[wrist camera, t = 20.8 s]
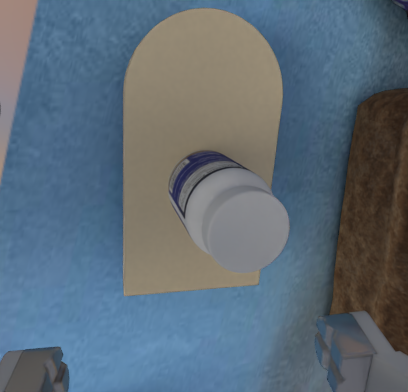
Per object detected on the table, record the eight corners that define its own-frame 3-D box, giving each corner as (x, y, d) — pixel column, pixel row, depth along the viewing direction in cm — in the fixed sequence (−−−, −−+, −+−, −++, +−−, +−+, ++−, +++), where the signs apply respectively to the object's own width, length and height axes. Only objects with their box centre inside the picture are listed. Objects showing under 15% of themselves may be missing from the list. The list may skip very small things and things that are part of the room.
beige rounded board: (239, 259, 36) (258, 285, 32) (121, 267, 33) (123, 296, 29) (264, 28, 30) (293, 18, 25) (121, 10, 27) (124, -4, 22)
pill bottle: (242, 205, 29) (305, 262, 20) (177, 227, 28) (211, 298, 19) (228, 138, 27) (291, 168, 18) (157, 160, 26) (185, 202, 17)
